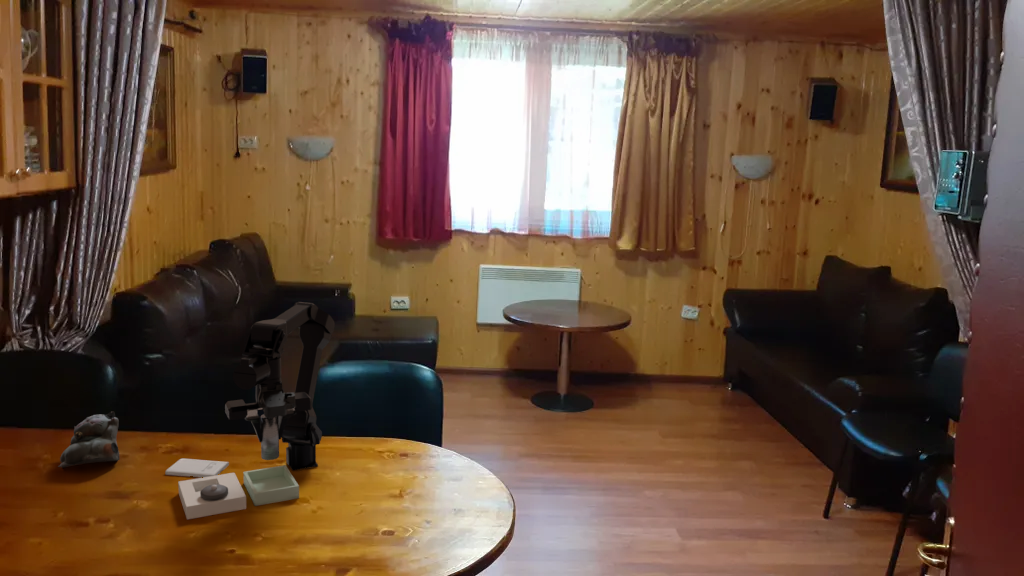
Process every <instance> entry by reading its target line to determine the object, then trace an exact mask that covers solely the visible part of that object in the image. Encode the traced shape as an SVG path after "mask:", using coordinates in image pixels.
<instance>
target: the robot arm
mask: <svg viewBox="0 0 1024 576" xmlns="http://www.w3.org/2000/svg"><path fill="white" fill-rule="evenodd" d="M335 325H336V324H335V320H334V319H333V318H332V316H331V315H330V314H329V313H328V312H326V311H324V310H322V309H320V308H319V307H318V306H317V305H316V304H314V303H313V302H302V301H298V302H295V303H294V304H293V306H291V307H289V309H287V310H285V311H284V312H282V313H281V314H279V315H278V316H276V317H275V318H272V319H265V320H260V321H256V322H254V323H253V324H252V326H251V327H250V328H249V331H248V334H247V337H246V340H245V342H244V343H245V344H244V346H243V349H242V351H241V352H242V353H241V354H242V355H241V356H245V357H242V358H241V359H240V364H239V365H237V366H236V367H235V368H234V370H233V373H232V379H233V382H234V384H235V385H236V386H237V387H238V388H239V389H241V390H250V389H253V388H254V387H255V402H251V403H250V402H249V403H245V401H244V399H237V400H236V399H235V400H227V402H226V403H225V404H224V409H225V410H224V412H225V414H226V417H227V418H228V420H230V421H235V420H243V419H244V420H245V421H247V422H251V424H252V426H253V429H254V431H255V434H256V436H257V439H258V442H259V443H261V442H262V435H261V419H260V416H259V414H258V412H259V411H260V412H261V411H262V412H263V414H264V415H265V417H267V418H272V417H276V416H278V421H279V441H280V440H281V442H282V443H283V444H285V443H286V444H287V447H286V448H285V453H286V454H285V457H286V462H285V463H286V464H287V465H288V467H289V468H290V469H291V470H292V471H298V470H299V471H300V470H304V469H305V470H306V469H311V468H317V467H318V466H319V463H318V462H317V458H316V457H317V456H316V455H317V451H316V449H317V445H320V444H321V441H322V437H323V436H322V435H323V432H322V430H321V428H319V426H318V425H317V415H316V412H315V410H314V407H313V402H314V398H315V392H316V386H317V381H318V375H319V369H320V366H321V365H320V363H321V359H322V353H323V350H324V349H325V348H326V347H327V345H328V344H329V343H330V342H331V339H332V335H333V333H334V332H335V327H336V326H335ZM297 329H298V336H299V337H298V338H299V339H300V342H301V344H302V352H301V355H300V356H301V357H300V361H299V366H298V373H297V378H296V383H295V390H294V391H293V392H285V391H284V390H283V383H282V355H283V354H284V353H285V351H286V350H285V349H284V348H283V347H284V345H286V343H287V342H288V336H289V335H290V334H291V333H292V332H293V331H295V330H297ZM246 356H247V357H246Z"/></svg>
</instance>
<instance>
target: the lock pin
mask: <svg viewBox="0 0 1024 576" xmlns="http://www.w3.org/2000/svg"><path fill="white" fill-rule="evenodd" d="M259 417H260V428H261V435H262V442H260V446H261V447H260V450H261V451H260V452H261V453H260V454H261V456H260V457H261V460H266V461H273V460H277V459H278V458H280V440H279V421H278V416H276V417H272V418H267V417H265V415H264V413H263V414H261V415H260V416H259Z"/></svg>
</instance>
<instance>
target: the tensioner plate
mask: <svg viewBox="0 0 1024 576" xmlns="http://www.w3.org/2000/svg"><path fill="white" fill-rule="evenodd" d="M177 485H178V495H179V498H180V502H181V504H182V508H183V511H184V514H185V518H186V520H192V519H197V518H203V517H209V516H212V515H218V514H225V513H230V512H237V511H240V510H241V511H242V510H246V509H247V495H246V494H245V493H246V492H245V491H244V489H243V487H242V485H241V483H240V482H239V479H238V477H237V475H236V473H235V472H229V473H222V474H219V475H216V476H209V477H203V478H202V477H196V478H191V479H186V480H180V481H179V480H178V484H177Z"/></svg>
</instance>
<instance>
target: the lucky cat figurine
mask: <svg viewBox="0 0 1024 576" xmlns="http://www.w3.org/2000/svg"><path fill="white" fill-rule="evenodd" d="M119 422H120V421H119V418H118V417H116V413H115V411H110V412H108V413H107V414H93V415H91V416H87V417H86V418H85V419H84V420H82V421H81V422H80V423H78V424H77V425H76V426H75V425H74V429H73V436H72V437H71V438H70V439H71V440H70V443H69V446H68V447H67V448H66V449H64V450H63V452H62V453H61V456H60V457H59V462H60V464H59V465H57V467H58V468H62V469H65V468H67V467H72V466H73V467H74V466H77V465H84V464H91V463H92V464H93V463H103V462H104V463H105V462H106V463H107V462H114V463H117V462H118V461H119V460H120V459H121V458H120V451H119V447H118V442H117V435H118V429H119Z"/></svg>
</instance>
